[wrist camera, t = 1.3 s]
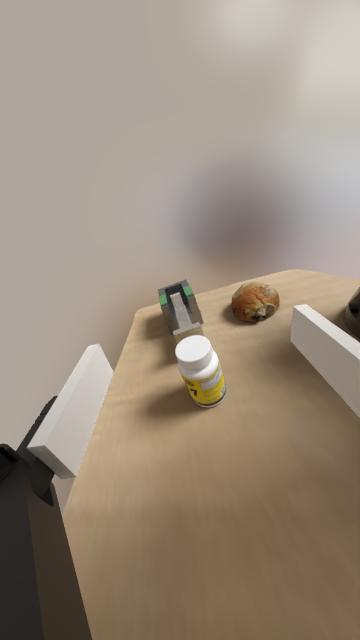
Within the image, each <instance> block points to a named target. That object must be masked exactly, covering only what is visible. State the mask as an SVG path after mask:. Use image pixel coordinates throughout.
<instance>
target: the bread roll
mask: <svg viewBox="0 0 360 640" xmlns="http://www.w3.org/2000/svg"><path fill="white" fill-rule="evenodd" d="M232 308H233V311H234V314H235V316H236V317H238V318H239V319H240V320H243V321H253V322H255V321H262V320H264V319H267V318H268V317H270V316H271V315H273V314H274V313H275V311H276V310H278V308H279V296H278V293H277V291H276V290H275V289H274V288H273V287H271V286H270V285H267V284H264V283H260V282H252V283H247V284H243V285H241V287H240V288H239V289H238V290H237V291H236V293H235V294H234V295H233V297H232Z"/></svg>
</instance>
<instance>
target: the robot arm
mask: <svg viewBox="0 0 360 640" xmlns="http://www.w3.org/2000/svg"><path fill="white" fill-rule="evenodd" d="M345 322H346V324H347V326H348V327H349V329H350V330H351V331H352V332H353V333H354V334H355V335H357V336H358V337H359V338H360V287H359V289H358V290H357V291H356V293H355V294H354V295H353V297H352V298H351V299H350V301H349V302H348V305H347V308H346V313H345ZM290 341H291V342H292V343H293V344H294V345H295V347H296V348H297V349H298V350H299V351H300V352H301V353H302V354H303V355H304V357H305V358H306V359H307V360H308V361H309V362H310V363H311V364H312V366H313V367H314V368H315V369H316V370H317V371H318V372H319V373H320V374H321V376H322V377H323V378H324V379H325V380H326V381H327V382H328V383H329V385H330V386H331V387H332V388H333V389H334V390H335V391H336V392H337V393H338V395H339V396H340V397H341V398H342V399H343V400H344V401H345V402H346V403H347V405H348V406H349V407H350V408H351V409H352V410H353V411H354V412H355V414H356V415H357V416H358V417H359V418H360V342H358V341H357V340H355V339H354V338H352V337H351V336H350V335H348V334H347V333H345V332H344V331H343V330H341V329H340V328H338V327H337V326H336V325H334V324H333V323H331V322H330V321H329V320H327V319H326V318H324V317H323V316H322V315H320V314H319V313H317V312H316V311H315V310H313V309H312V308H310V307H309V306H308V305H306V304H303V305H298V306H293V316H292V327H291V337H290ZM113 373H114V372H113V371H112V369H111V367H110V365H109V363H108V361H107V359H106V357H105V355H104V353H103V351H102V349H101V347H100V345H99V344H96V345H91V346H88V348H87V349H86V351H85V352H84V354H83V356H82V357H81V359H80V361H79V362H78V364H77V365H76V367H75V369H74V370H73V372H72V374H71V375H70V377H69V379H68V380H67V382H66V384H65V385H64V387H63V389H62V390H61V392H60V394H59V395H58V396H54V397H53V398H52V399H51V400H50V401H49V402H48V403H47V404H46V406H45V407H44V409H43V410H42V411H41V413H40V416H38V418H37V419H36V421H35V424H33V426H32V427H31V429H30V430H29V432H28V433H27V435H26V436H25V438H24V440H23V441H22V443H21V444H20V446H19V447H18V449H17V451H15V450H13V449H12V448H11V447H10V446H9V445H7V444H0V640H92V637H91V633H90V629H89V625H88V621H87V617H86V613H85V609H84V605H83V601H82V597H81V593H80V589H79V584H78V580H77V576H76V572H75V568H74V564H73V560H72V556H71V552H70V548H69V544H68V540H67V536H66V532H65V528H64V524H63V519H62V515H61V511H60V507H59V503H58V499H57V495H56V491H55V487H54V485H53V483H52V482H51V480H52V478H53V476H54V474H56V475H57V476H58V477H59V478H60V479H66V478H72V477H77V475H78V472H79V469H80V466H81V463H82V461H83V458H84V455H85V452H86V449H87V446H88V444H89V441H90V438H91V435H92V432H93V429H94V427H95V424H96V421H97V418H98V415H99V412H100V410H101V407H102V404H103V401H104V398H105V396H106V393H107V390H108V387H109V384H110V381H111V379H112V376H113Z"/></svg>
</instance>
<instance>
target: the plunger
mask: <svg viewBox="0 0 360 640" xmlns="http://www.w3.org/2000/svg"><path fill="white" fill-rule="evenodd" d="M170 297H171V300H172V303H173V305H174V309H175V313H176V316H177V320H178V323H179V327H180V329H178V330H175V331H173V334H174V337H175V339H176V342H177V344H178V343H179V342H180V341H182V340H183V339H185V338H187V337H189V336H194V335H200V336H204V334H203V331H202V328H201V325H200V323H199V322H197V323H195V324H192V323H191V320H190V318H189V315H188V312H187V310H186V307H185V305H184V304H183V301H182V298H181V295H180V293H179V292H178V293H175V294H173V295H170Z"/></svg>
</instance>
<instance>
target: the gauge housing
mask: <svg viewBox="0 0 360 640" xmlns="http://www.w3.org/2000/svg"><path fill="white" fill-rule="evenodd" d="M158 292H159V300H160V305H161V309H162V311H163V314H164V316H165V318H166V323H167V325H168V328H169V330H170V332H171V335H172V334H173V331H175V330H178V329H180V327H179V323H178V320H177V316H176V313H175V309H174V305H173V303H172V300H171V297H170V295H173V294H175V293H178V292H179V293H180V295H181V298H182V301H183V304H184V305H185V307H186V310H187V312H188V315H189V318H190V320H191V323H192V324H195V323H197V322H199V323H200V324H203V320H202V316H201V313H200V310H199V308H198V306H197V303H196V299H195V296H194V294H193V292H192V290H191V288H190V286H189V285H188V283H187V281H186V280H184V281H181V282H178V283H175V284H172V285H170V286H167V287H164V288H162V289H159V290H158Z"/></svg>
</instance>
